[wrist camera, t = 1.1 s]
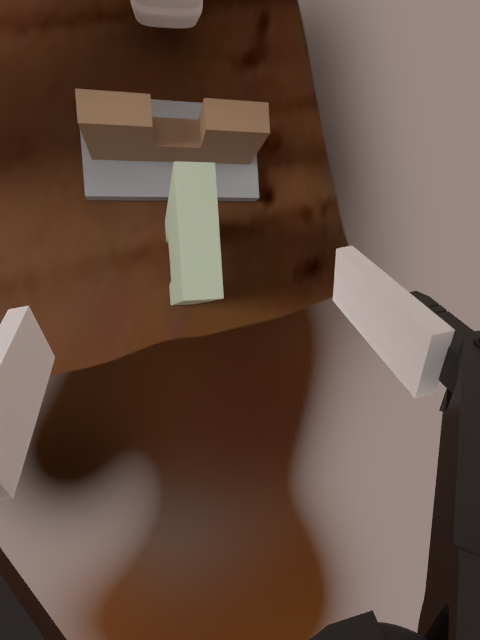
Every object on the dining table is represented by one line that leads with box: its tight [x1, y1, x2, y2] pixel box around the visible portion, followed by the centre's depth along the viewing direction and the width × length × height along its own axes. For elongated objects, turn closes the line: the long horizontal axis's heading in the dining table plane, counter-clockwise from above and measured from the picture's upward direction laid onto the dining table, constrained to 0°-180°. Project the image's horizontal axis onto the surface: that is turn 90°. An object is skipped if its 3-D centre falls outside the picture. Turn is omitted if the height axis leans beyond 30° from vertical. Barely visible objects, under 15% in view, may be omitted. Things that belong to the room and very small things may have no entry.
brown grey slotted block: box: [75, 89, 270, 201], centre depth 39 cm, size 20×11×10 cm, turn 93°
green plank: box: [165, 161, 224, 305], centre depth 35 cm, size 3×10×18 cm, turn 3°
